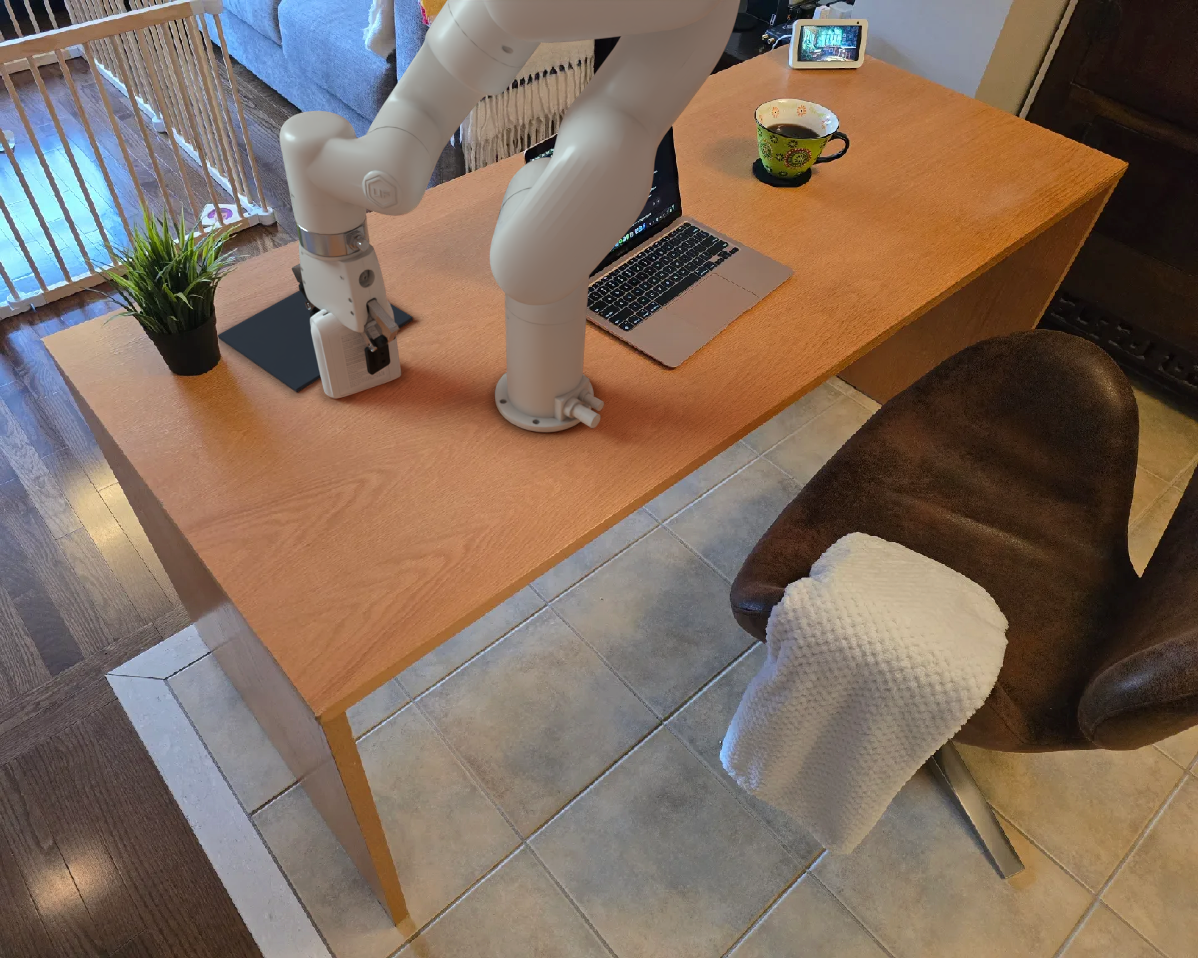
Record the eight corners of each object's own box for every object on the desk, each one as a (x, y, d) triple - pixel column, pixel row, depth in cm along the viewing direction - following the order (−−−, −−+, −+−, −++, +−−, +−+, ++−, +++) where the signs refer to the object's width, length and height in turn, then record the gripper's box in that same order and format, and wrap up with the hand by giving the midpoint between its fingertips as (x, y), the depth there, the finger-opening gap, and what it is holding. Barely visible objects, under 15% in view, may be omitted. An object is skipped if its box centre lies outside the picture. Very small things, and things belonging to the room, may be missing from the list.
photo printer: (393, 359, 116) (381, 281, 106) (407, 377, 113) (396, 299, 104) (318, 384, 111) (299, 306, 102) (331, 404, 109) (313, 326, 100)
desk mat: (413, 320, 121) (412, 316, 121) (296, 392, 110) (295, 389, 110) (336, 273, 127) (335, 270, 127) (218, 338, 116) (217, 334, 116)
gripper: (413, 249, 95) (423, 368, 108) (308, 187, 101) (329, 307, 114) (360, 278, 91) (377, 398, 103) (254, 212, 97) (282, 333, 110)
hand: (352, 350), depth 109 cm, fingers open, 9 cm apart
